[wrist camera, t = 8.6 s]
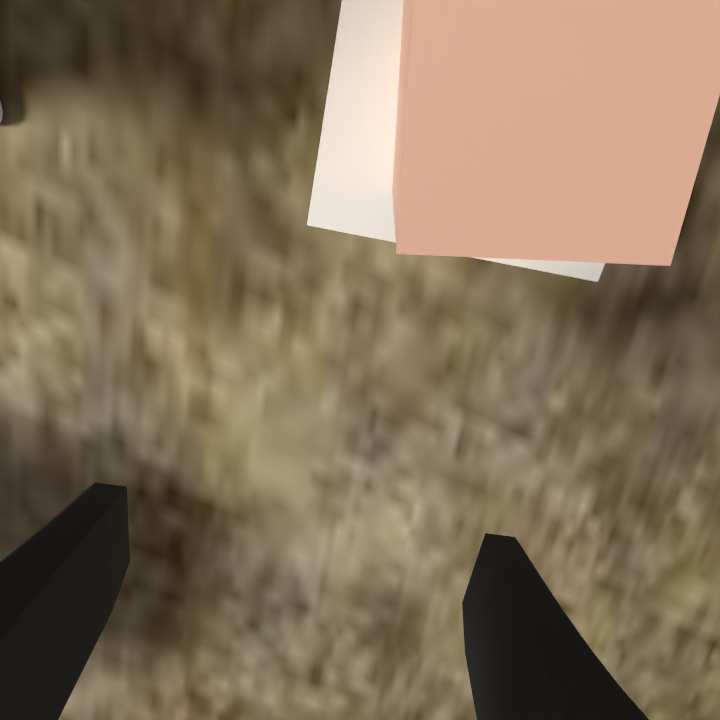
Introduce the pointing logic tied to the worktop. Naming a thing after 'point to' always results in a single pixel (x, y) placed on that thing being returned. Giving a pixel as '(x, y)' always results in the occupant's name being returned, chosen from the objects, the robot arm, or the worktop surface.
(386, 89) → the cream base block
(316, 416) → the worktop surface
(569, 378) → the worktop surface
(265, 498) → the worktop surface
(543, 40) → the terracotta cube
